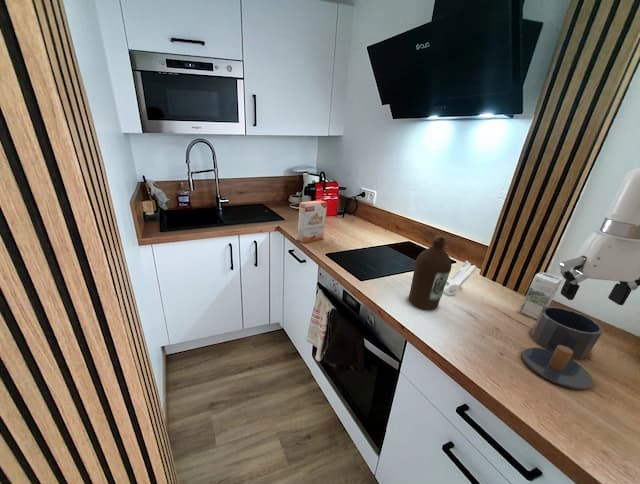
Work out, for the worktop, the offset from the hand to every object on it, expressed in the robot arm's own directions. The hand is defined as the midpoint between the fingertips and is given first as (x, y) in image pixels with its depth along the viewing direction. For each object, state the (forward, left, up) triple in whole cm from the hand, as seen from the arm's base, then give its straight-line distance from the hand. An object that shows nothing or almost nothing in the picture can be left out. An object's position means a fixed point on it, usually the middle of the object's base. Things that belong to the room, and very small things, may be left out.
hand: (590, 299), depth 66 cm
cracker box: (+72, -77, -21) cm, 107 cm away
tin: (-7, -11, -21) cm, 24 cm away
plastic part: (+14, -37, -21) cm, 44 cm away
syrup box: (-8, -26, -21) cm, 34 cm away
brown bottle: (+27, -24, -21) cm, 41 cm away
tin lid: (+1, +1, -20) cm, 20 cm away
